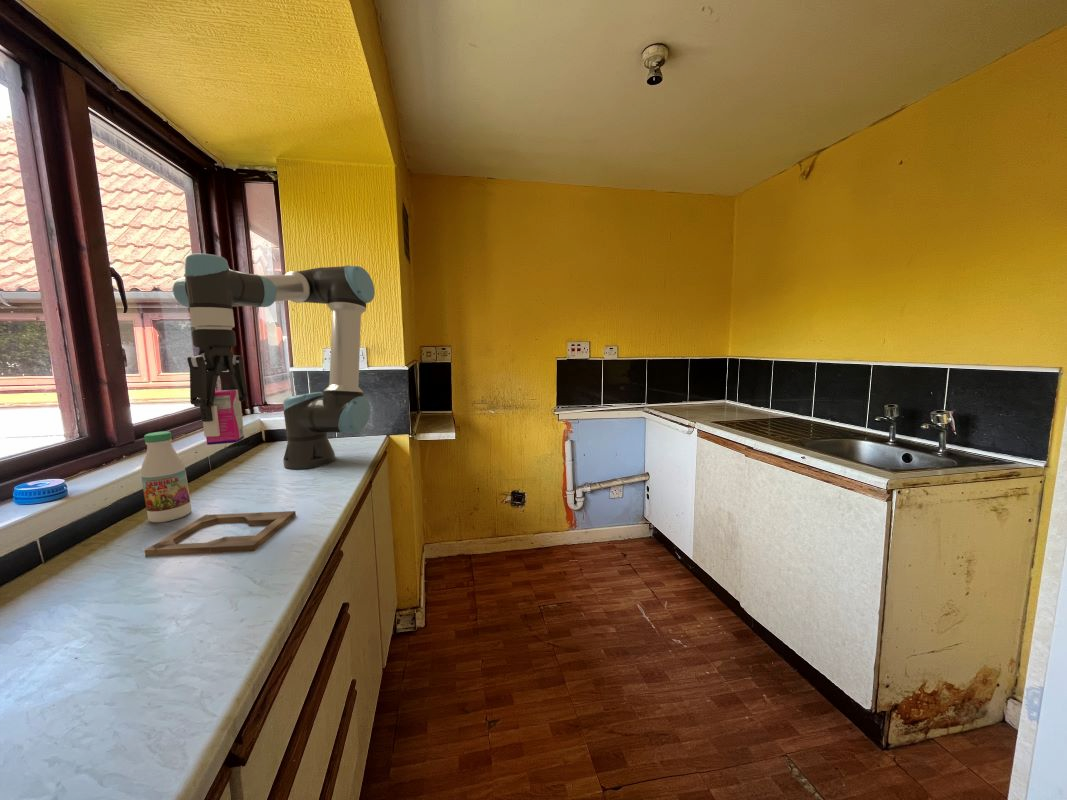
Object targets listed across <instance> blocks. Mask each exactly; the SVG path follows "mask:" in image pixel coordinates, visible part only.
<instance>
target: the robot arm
mask: <svg viewBox="0 0 1067 800" xmlns="http://www.w3.org/2000/svg"><path fill="white" fill-rule="evenodd" d="M183 263H184V268H183V269H184V274H183V275H184V276H182V277H179V278H177V279H175V281H174V282H173V285H172V294H173V296H174V298H175V299H176V301H177V302H178V303H179V304H180V305H182V306H183V307H186V308H189V315H190V317H189V318H190V325H191V327H193V328H194V329H193V330H192V331H191V339H192V345H193V347H195V348H198V353H197V355H196V356H188V357H187V359H186V360H187V363H188V367H189V392H190V393H189V396H190V397H189V399H190V405H193V406H194V407H199V408H200V416H201V421H202V426H203V435H204V437H205V438H206V437H207V436H220V431H219V422H218V413H217V406H213V403H214V397H215V391H217V390H216V389H217V382H218V379H219V378H220V380H221V382H222V385H223V387H224V390H238V395H239V403H240V411H241V419H242V427H243V428H244V423H243V408H242V402H243V401H246V400H247V397H248V390H247V385H246V379H245V374H244V373H245V372H244V369H243V356H242V355H235V354H234V352H233V350H232V348H235V347H236V346H237V339H236V331H235V330H233V328H235V325H236V324H235V317H234V310H233V308H234V307H254V308H268V307H271V306H272V305H273V304H274V303H275V302H284V301H285V302H287V301H291V302H293V303H295V304H296V303H297V304H299V303H300V304H301V303H306V304H307V303H310V304H311V303H312V304H324V305H326V306H327V307H328V308H329V309H330V311H331V333H330V334H331V338H330V360H329V363H330V365H329V382H328V383H329V384H328V386H327V387H326V388H325V389H323V392H322V391H315V392H308V393H304V394H297V395H293V396H292V395H291V396H287V397H286V398H285V399H284V400H283V410H282V411H283V417H284V424H285V430H286V431H285V433H286V440H287V443H286V444H287V445H286V447H285V452H284V456H283V461H282V462H283V467H284V468H285V469H290V470H304V469H311V468H317V467H322V466H326V465H329V464H331V463H333V462H335V461H336V454H335V451H334V449H333V446H332V444H331V442H330V441H329V439H328V434H329V433H332V434H333V433H335V434H336V433H337V434H354V433H358V432H361V431H362V430H364V428H365V426H367V424H368V422H369V421H370V416H371V411H372V410H371V405H370V401H369V400H368V399H367V398H366V397H364V391H363V390H362V389H361V388H360V386H359V380H360V379H359V378H360V377H359V376H360V356H361V355H360V354H361V353H360V352H361V349H360V348H361V329H362V327H361V325H362V315H363V313H365V312H366V311H367V304H369V303H371V302H372V301H373V300H374V298H375V293H376V292H375V286H374V281H373V279H372V278H371V275H370V274H369V273H368V271H367V270H366V269H365V268H364V267H361V266H359V265H349V264H348V265H341V266H327V267H322V266H320V267H315V268H310V269H309V268H308V269H305V270H297V271H294V270H293V271H292V270H291V271H288V272H286V273H285V274H253V273H248V272H242V271H237V270H233V269H230V266H229V263H228V260H227V259H226V258H225V257H223V256H220V255H217V254H209V253H190V254H187V255H186V256H185V257H184V261H183ZM218 377H219V378H218Z"/></svg>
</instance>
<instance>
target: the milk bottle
mask: <svg viewBox="0 0 1067 800" xmlns="http://www.w3.org/2000/svg"><path fill="white" fill-rule="evenodd" d="M143 438H144V442H145V445H146V453H145V456H144V459H143V461H142V464H141V468H140V470H141V471H140V475H141V485H142V491H143V496H144V497H143V498H144V502H145V509H146V514H147V519H148V521H149V522H150V523H165V522H169V521H170V522H171V521H174V520H178V519H181V518H183V517H186V516H187V515H190V514H191V512H192V504H191V496H190V490H189V484H188V478H187V477H188V476H187V472H186V467H185V463H184V461H183V459H182V457H181V456H180V455H179V454H178V452H177V451H176V450H175V448H174V447H173V444H172V442H173V439H172V438H173V437H172V432H171V431H155V432H149V433H146V434H144V436H143Z"/></svg>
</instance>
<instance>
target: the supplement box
mask: <svg viewBox="0 0 1067 800" xmlns="http://www.w3.org/2000/svg"><path fill="white" fill-rule="evenodd" d="M213 406H217V413H218V422H219V431H220V436H207V437H205V440H206V445H207V446H211V445H212V446H213V445H223V444H224V445H225V444H236V443H239V442H240V441H241V440H243V439H244V438H245V435H244V426H243V427H242V420H243V418H242V419H241V411H240V403H239V395H238V390H225V389H224V390H215V397H214V403H213Z"/></svg>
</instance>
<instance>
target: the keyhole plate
mask: <svg viewBox="0 0 1067 800" xmlns="http://www.w3.org/2000/svg"><path fill="white" fill-rule="evenodd" d="M296 516H297V514H296V510H292V511H289V510H288V511H264V512H260V511H259V512H240V513H239V512H238V513H222V514H221V513H219V514H218V513H216V514H215V513H214V514H205V515H202V516H200V517H199V518H197V519H196V520H194V521H192V522H191V523H189V524H187V525H185V526H184V527H182V528H180V529H179V530H176V531H175V532H173V533H172V534H170V535H168V536H166V537H164V538H163V539H161V540H160V541H158V542H156V543H154V544H152V545H151V546H149V547H147V548H146V549H144V555H145V557H149V556H150V557H153V556H154V557H157V556H174V555H175V556H176V555H177V556H178V555H192V554H193V555H198V554H215V553H216V554H218V553H236V552H239V553H240V552H254V551H256V550H257V549H258V548H260V546H262V545H263V544H264V543H265V542H267V541H268V540H269V539H270V538H271V537H272V536H274V535H275V534H276V533H277V532H279V531H280V530H281V529H282V528H284V526H286V525H287V524H288V523H289V522H290V521H291V520H293V519H294V518H296ZM242 522H243V523H246V524H247V525H248V526H249V527H251V526H265V527H264V528H263V529H262V530H260V531H259V532H258V533H257V534H254V535H237V536H236V535H234V536H224V537H219V538H217V539H213V540H210V541H207V542H190V543H187V542H186V543H179V542H181V541H183V540H184V539H186V538H187V537H189V536H191V535H193V534H194V533H196V532H197V531H199V530H200V529H202V528H205V527H208V526H212V525H216V524H218V523H219V524H222V523H225V524H226V523H242Z"/></svg>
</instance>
